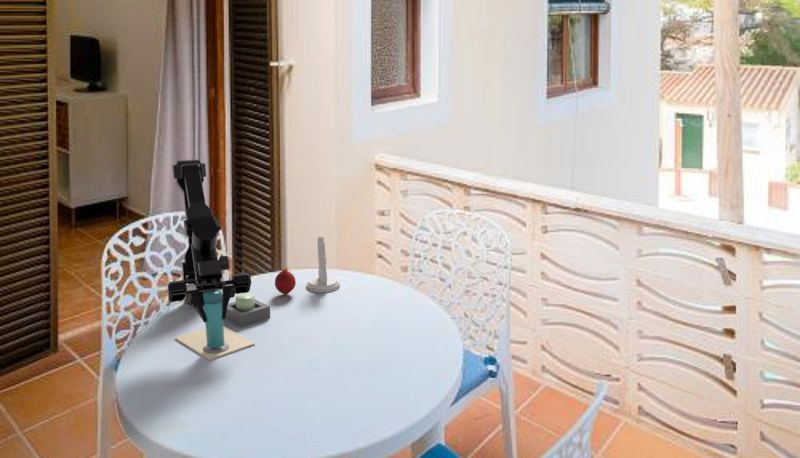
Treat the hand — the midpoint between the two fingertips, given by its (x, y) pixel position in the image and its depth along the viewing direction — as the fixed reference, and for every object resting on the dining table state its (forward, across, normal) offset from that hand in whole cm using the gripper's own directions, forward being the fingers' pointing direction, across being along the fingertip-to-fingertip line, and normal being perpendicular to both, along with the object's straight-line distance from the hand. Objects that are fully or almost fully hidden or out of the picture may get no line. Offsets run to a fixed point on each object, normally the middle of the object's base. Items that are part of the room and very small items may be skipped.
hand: (214, 320), depth 162 cm
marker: (+4, 0, +6) cm, 7 cm away
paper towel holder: (-18, +35, +30) cm, 49 cm away
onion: (-16, +23, +28) cm, 39 cm away
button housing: (-8, +10, +19) cm, 23 cm away
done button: (-9, +10, +17) cm, 22 cm away
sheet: (+2, 0, +10) cm, 10 cm away
